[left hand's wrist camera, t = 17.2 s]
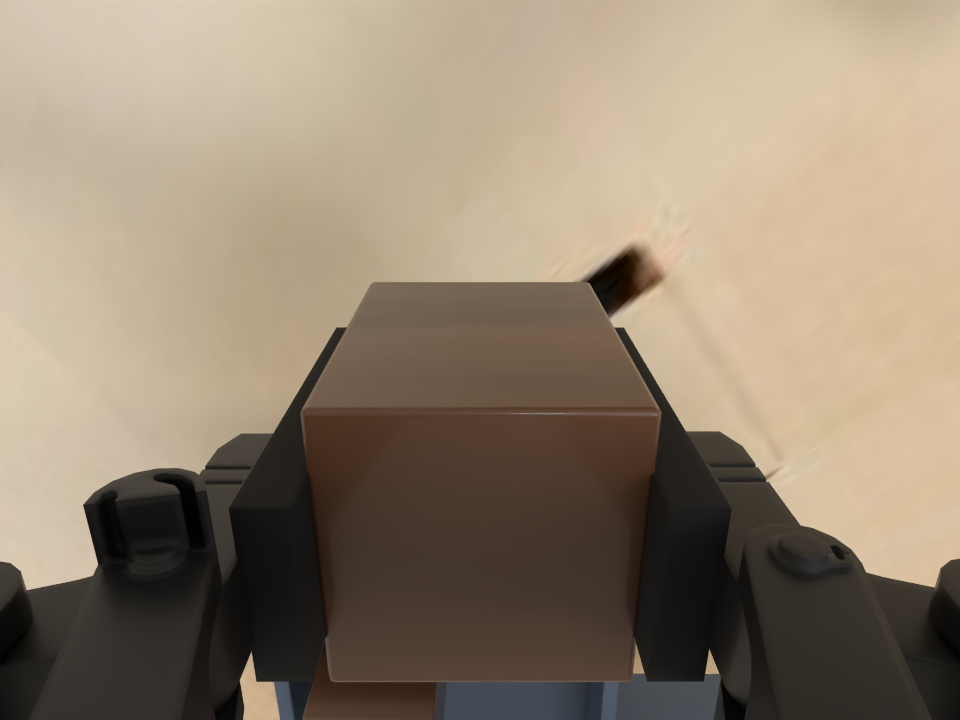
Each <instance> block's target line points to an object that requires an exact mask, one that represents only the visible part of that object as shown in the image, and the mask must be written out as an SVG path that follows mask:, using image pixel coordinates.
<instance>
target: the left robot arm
mask: <svg viewBox="0 0 960 720" xmlns="http://www.w3.org/2000/svg"><path fill="white" fill-rule="evenodd" d="M346 329H347V328H336V330H335V331H334V333H333V335H332V336H331V338H330V340H329V341H328V343H327V345H326V346H325V348H324V350H323V351H322V353H321V355H320V356H319V358H318V360H317V361H316V363H315V365H314V366H313V368H312V370H311V371H310V373H309V375H308V376H307V378H306V380H305V382H304V383H303V385H302V387H301V388H300V390H299V392H298V393H297V395H296V397H295V398H294V400H293V402H292V403H291V405H290V407H289V408H288V410H287V412H286V413H285V415H284V417H283V418H282V420H281V422H280V423H279V425H278V427H277V428H276V430H275V432H274V433H273V434H240V435H238V436H237V437H235V438H234V439H232V440H231V441H229V442H228V443H226V444H225V445H223V446H222V447H220V448H218V450H217V451H216V452H215V454H214V455H213V456H212V458H211V459H210V461H209V462H208V463H207V465H206V466H205V470H202V472H201V473H200V474H199V475H198V474H197V473H195V472H192V471H188V470H184V469H179V468H164V469H153V470H148V471H143V472H137V473H133V474H131V475H128V476H125V477H123V478H120V479H117V480H115V481H112V482H111V483H109V484H107V485H106V486H104V487H102V488H101V489H99V490H97V491H96V492H94V493H93V494H92V496H91V497H90V498H89V499H88V500H87V501H86V502H85V503H84V504H83V506H84V510H85V514H86V518H87V522H88V526H89V529H90V533H91V537H92V541H93V545H94V549H95V553H96V557H97V561H98V566H97V568H96V571H95V573H94V575H93V576H91V577H87V578H83V579H80V580H76V581H71V582H66V583H61V584H56V585H51V586H46V587H41V588H36V589H31V590H26V587H25V584H24V580H23V577H22V574H21V571H20V570H18V569H17V568H16V567H15V566H13V565H12V564H11V563H6V562H0V720H243V714H244V703H243V697H242V691H241V685H240V678H241V676H242V673H243V671H244V668H245V666H246V663H247V661H248V658H249V656H250V653H251V651H252V656H253V662H254V669H255V675H256V681H257V682H313V681H314V677H315V674H316V670H317V667H318V663H319V660H320V656H321V652H322V649H323V645H324V642H325V638H326V634H325V624H324V615H323V606H322V597H321V588H320V578H319V569H318V560H317V551H316V541H315V532H314V523H313V514H312V505H311V495H310V486H309V477H308V473H307V468H306V459H305V450H304V441H303V432H302V423H301V411H302V408H303V407H304V405H305V403H306V401H307V399H308V398H309V396H310V394H311V392H312V390H313V388H314V387H315V385H316V383H317V381H318V379H319V378H320V376H321V374H322V372H323V370H324V369H325V367H326V365H327V363H328V361H329V360H330V358H331V356H332V354H333V352H334V350H335V349H336V347H337V345H338V343H339V341H340V340H341V338H342V336H343V334H344V332H345V331H346ZM615 330H616V332H617V334H618V335H619V337H620V339H621V341H622V343H623V344H624V346H625V348H626V350H627V352H628V353H629V355H630V357H631V359H632V360H633V362H634V364H635V366H636V368H637V369H638V371H639V373H640V375H641V377H642V378H643V380H644V382H645V384H646V385H647V387H648V389H649V391H650V393H651V394H652V396H653V398H654V400H655V402H656V403H657V405H658V407H659V409H660V411H661V420H660V430H659V439H658V448H657V457H656V466H655V472H654V473H653V474H652V482H651V491H650V500H649V510H648V519H647V528H646V537H645V546H644V556H643V565H642V574H641V583H640V592H639V602H638V611H637V620H636V629H635V640H636V644H637V648H638V651H639V655H640V658H641V662H642V665H643V669H644V672H645V676H646V680H647V682H704V677H705V671H706V665H707V659H708V653H709V649H710V651H711V654H712V656H713V659H714V661H715V664H716V666H717V669H718V671H719V674H720V676H721V679H720V685H719V691H718V696H717V702H716V708H715V714H714V719H713V720H960V559H956V560H951V561H949V562H948V563H947V564H946V565H944V566H943V567H942V568H941V569H940V573H939V576H938V579H937V582H936V586H935V588H934V587H929V586H924V585H919V584H914V583H909V582H904V581H899V580H894V579H889V578H884V577H881V576H877V575H873V574H869V573H866V572H865V569H864V567H863V565H862V563H861V562H860V560H859V559H858V558H857V556H856V555H855V554H854V552H853V551H852V550H851V549H850V548H848V547H847V546H846V545H844V544H843V543H841V542H840V541H839V540H837V539H836V538H834V537H832V536H830V535H827V534H825V533H823V532H820V531H818V530H816V529H813V528H809V527H805V526H800V524H799V523H798V522H797V520H796V519H795V517H794V516H793V515H792V513H791V512H790V511H789V509H788V508H787V506H786V505H785V504H784V502H783V501H782V500H781V498H780V497H779V496H778V494H777V493H776V491H775V490H774V489H773V487H772V486H771V485H770V483H769V482H766V478H765V476H764V475H763V474H762V472H761V471H760V470H759V468H758V467H755V463H754V461H753V460H752V459H751V457H750V456H749V454H748V453H747V452H746V450H745V449H744V448H743V446H741V445H740V444H738V443H736V442H735V441H733V440H732V439H730V438H729V437H727V436H726V435H724V434H723V433H721V432H686V431H685V429H684V428H683V426H682V424H681V423H680V421H679V419H678V418H677V416H676V414H675V413H674V411H673V409H672V408H671V406H670V404H669V403H668V401H667V399H666V398H665V396H664V394H663V393H662V391H661V389H660V388H659V386H658V384H657V383H656V381H655V379H654V377H653V376H652V374H651V372H650V371H649V369H648V367H647V366H646V364H645V362H644V361H643V359H642V357H641V356H640V354H639V352H638V351H637V349H636V347H635V346H634V344H633V342H632V341H631V339H630V337H629V336H628V334H627V332H626V331H625V329H624V328H615Z"/></svg>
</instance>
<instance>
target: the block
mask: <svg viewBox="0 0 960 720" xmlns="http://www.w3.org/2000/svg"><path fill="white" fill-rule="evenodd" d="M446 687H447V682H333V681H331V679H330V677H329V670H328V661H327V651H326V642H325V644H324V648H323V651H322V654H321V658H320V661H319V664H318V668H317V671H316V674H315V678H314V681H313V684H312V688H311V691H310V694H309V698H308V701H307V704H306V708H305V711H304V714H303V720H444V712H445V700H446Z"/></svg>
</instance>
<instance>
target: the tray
mask: <svg viewBox="0 0 960 720" xmlns="http://www.w3.org/2000/svg"><path fill="white" fill-rule="evenodd" d="M324 644H325V642H324ZM323 648H324V645H323ZM322 651H323V649H322ZM321 654H322V652H321ZM320 658H321V656H320ZM319 661H320V660H319ZM318 664H319V663H318ZM317 668H318V667H317ZM316 671H317V670H316ZM314 678H315V677H314ZM720 679H721V676H720V674H705V677H704V682H647V680H646V676H645V674H633V675H632V679H631V680H630V681H628V682H447V687H446V700H445V712H444V720H713V719H714V714H715V708H716V702H717V696H718V691H719V685H720ZM312 684H313V682H274V685H275V691H276V697H277V703H278V709H279V715H280V720H303V714H304V711H305V708H306V704H307V701H308V698H309V694H310V691H311V688H312Z"/></svg>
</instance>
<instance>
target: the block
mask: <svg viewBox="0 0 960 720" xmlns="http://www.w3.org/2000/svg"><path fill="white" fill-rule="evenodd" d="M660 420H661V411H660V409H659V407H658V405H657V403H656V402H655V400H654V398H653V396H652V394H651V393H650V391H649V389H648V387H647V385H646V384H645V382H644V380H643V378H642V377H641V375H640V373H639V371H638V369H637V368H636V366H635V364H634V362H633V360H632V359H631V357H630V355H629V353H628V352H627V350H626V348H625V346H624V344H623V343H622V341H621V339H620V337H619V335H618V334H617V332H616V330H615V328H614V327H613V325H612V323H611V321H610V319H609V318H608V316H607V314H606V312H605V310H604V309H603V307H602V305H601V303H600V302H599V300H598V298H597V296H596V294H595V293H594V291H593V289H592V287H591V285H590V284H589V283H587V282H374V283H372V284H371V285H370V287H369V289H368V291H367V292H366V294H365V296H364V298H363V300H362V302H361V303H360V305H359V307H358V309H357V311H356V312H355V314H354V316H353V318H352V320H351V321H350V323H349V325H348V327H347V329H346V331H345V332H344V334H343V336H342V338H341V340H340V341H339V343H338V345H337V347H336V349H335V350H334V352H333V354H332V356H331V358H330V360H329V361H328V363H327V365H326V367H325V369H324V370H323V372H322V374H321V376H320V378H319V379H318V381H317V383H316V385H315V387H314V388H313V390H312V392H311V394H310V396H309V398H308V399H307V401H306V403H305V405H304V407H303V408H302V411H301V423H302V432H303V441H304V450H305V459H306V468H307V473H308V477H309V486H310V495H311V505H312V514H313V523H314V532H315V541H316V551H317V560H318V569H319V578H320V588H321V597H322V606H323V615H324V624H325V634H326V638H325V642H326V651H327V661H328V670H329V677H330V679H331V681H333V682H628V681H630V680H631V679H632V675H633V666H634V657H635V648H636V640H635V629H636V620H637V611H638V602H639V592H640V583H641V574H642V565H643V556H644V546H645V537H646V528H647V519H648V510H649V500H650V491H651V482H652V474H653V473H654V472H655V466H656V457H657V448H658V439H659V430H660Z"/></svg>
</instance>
